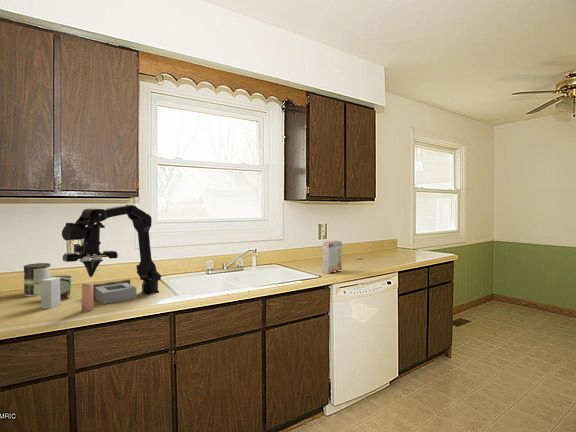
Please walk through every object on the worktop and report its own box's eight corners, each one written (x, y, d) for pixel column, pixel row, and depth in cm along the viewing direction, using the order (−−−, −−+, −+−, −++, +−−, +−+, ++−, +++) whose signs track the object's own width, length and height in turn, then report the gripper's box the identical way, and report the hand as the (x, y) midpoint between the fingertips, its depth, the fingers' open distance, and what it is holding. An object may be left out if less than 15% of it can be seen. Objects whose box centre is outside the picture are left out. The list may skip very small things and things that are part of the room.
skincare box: (50, 304, 140) (50, 277, 139) (60, 304, 140) (60, 277, 140) (40, 308, 134) (40, 280, 133) (51, 308, 134) (50, 280, 134)
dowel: (91, 308, 135) (91, 282, 135) (94, 310, 133) (94, 283, 132) (80, 310, 133) (80, 283, 132) (83, 312, 130) (83, 285, 129)
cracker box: (335, 270, 226) (335, 240, 226) (342, 271, 222) (342, 241, 221) (321, 272, 217) (322, 241, 216) (328, 274, 212) (329, 242, 212)
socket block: (126, 292, 161) (126, 282, 161) (136, 298, 151) (136, 287, 151) (94, 297, 151) (94, 287, 151) (103, 304, 141) (103, 292, 141)
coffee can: (20, 297, 150) (19, 267, 150) (28, 291, 160) (28, 263, 159) (46, 295, 154) (46, 266, 154) (53, 290, 163) (53, 262, 163)
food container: (79, 295, 154) (78, 275, 153) (70, 299, 147) (70, 277, 147) (52, 295, 153) (52, 274, 153) (43, 299, 147) (43, 277, 147)
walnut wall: (128, 290, 164) (128, 279, 163) (130, 291, 162) (130, 279, 162) (88, 297, 151) (88, 284, 151) (89, 298, 149) (89, 285, 149)
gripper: (108, 237, 145) (107, 271, 145) (58, 238, 131) (57, 277, 131) (118, 238, 138) (117, 275, 138) (67, 240, 124) (66, 281, 124)
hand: (90, 276), depth 133 cm, fingers closed
